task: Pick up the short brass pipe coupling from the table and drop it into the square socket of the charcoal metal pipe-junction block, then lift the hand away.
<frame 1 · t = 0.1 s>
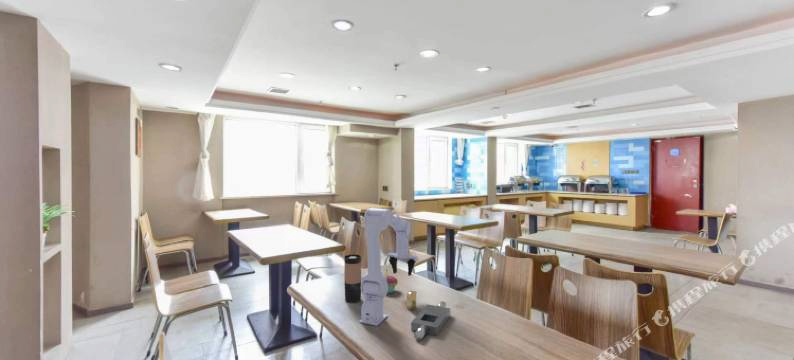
hand: (402, 274, 159), 10 cm above the table, tool pointing down, fingers open, 7 cm apart
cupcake: (388, 291, 165), on the table
junction block: (431, 322, 131), on the table
travel mug: (353, 300, 154), on the table
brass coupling: (411, 308, 144), on the table
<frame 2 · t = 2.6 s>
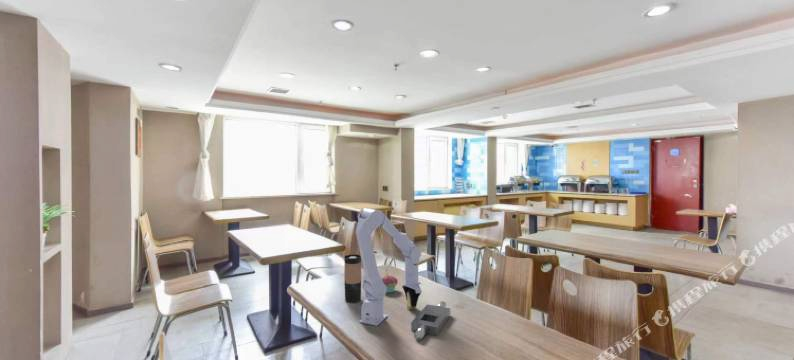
hand: (411, 304, 144), 2 cm above the table, tool pointing down, fingers closed on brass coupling, 4 cm apart
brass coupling: (411, 308, 144), on the table, touching gripper
everything else where it was.
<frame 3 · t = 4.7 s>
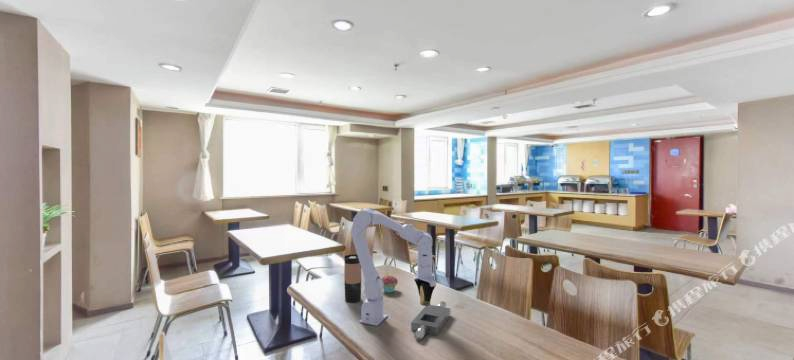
hand: (424, 298, 132), 9 cm above the table, tool pointing down, fingers closed on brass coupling, 4 cm apart
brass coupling: (425, 303, 132), point 7 cm above the table, touching gripper
everything else where it was.
when the fingers open (4 cm above the table, at t = 6.8 s): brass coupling drops 2 cm, resting in junction block.
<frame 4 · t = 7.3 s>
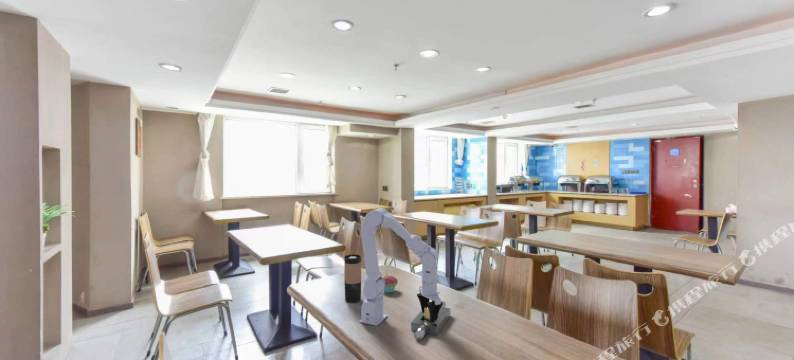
hand: (429, 316, 128), 4 cm above the table, tool pointing down, fingers open, 7 cm apart
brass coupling: (429, 325, 128), resting in junction block
everything else where it was.
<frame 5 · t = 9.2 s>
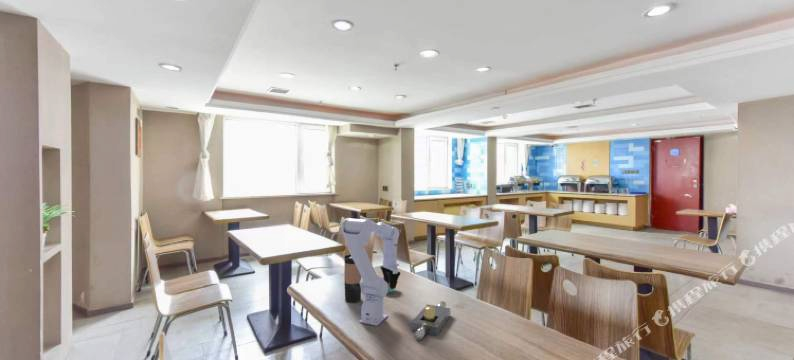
hand: (390, 285, 146), 9 cm above the table, tool pointing down, fingers open, 7 cm apart
nothing on the table moved.
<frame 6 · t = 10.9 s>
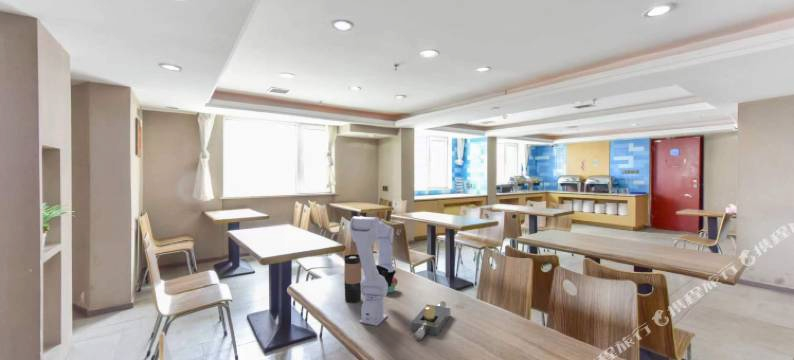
hand: (385, 283, 148), 9 cm above the table, tool pointing down, fingers open, 7 cm apart
nothing on the table moved.
at the end: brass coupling 0.1 cm from the target spot on the junction block, point 0.0 cm above the junction block's base; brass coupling tilted 0°; the gripper is holding nothing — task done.
